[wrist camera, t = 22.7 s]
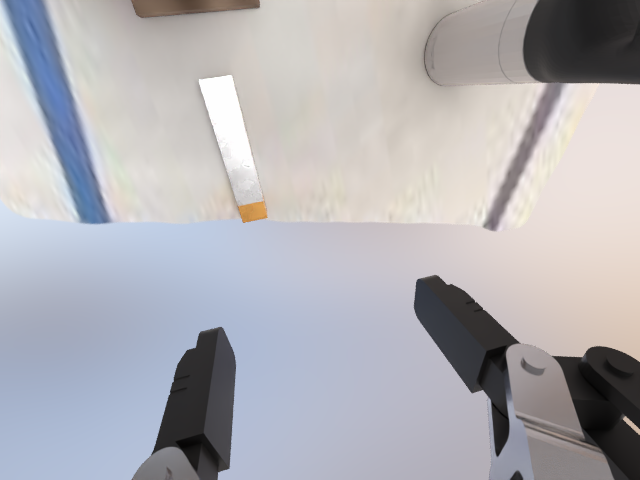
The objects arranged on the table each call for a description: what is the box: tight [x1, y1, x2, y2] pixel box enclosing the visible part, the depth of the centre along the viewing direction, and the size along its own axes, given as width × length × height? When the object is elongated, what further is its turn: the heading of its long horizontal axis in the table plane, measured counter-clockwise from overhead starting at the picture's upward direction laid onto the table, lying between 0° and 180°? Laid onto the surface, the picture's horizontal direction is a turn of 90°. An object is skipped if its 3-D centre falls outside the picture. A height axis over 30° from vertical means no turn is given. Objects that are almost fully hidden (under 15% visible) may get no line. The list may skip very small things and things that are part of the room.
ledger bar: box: [198, 76, 267, 223], centre depth 39 cm, size 4×20×4 cm, turn 7°
